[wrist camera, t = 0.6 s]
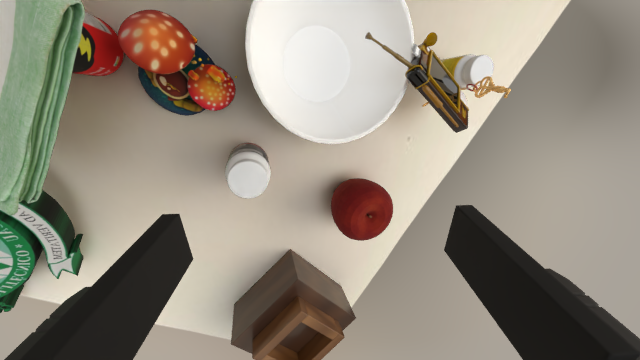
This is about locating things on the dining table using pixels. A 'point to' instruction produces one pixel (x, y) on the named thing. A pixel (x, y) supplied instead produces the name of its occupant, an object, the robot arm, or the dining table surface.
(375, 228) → the apple
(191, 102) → the figurine
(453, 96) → the walkie talkie
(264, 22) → the bowl
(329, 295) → the socket stand
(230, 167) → the pill bottle
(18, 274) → the emblem
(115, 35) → the beverage can
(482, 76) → the supplement bottle
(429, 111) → the dining table surface
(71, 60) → the dish towel
